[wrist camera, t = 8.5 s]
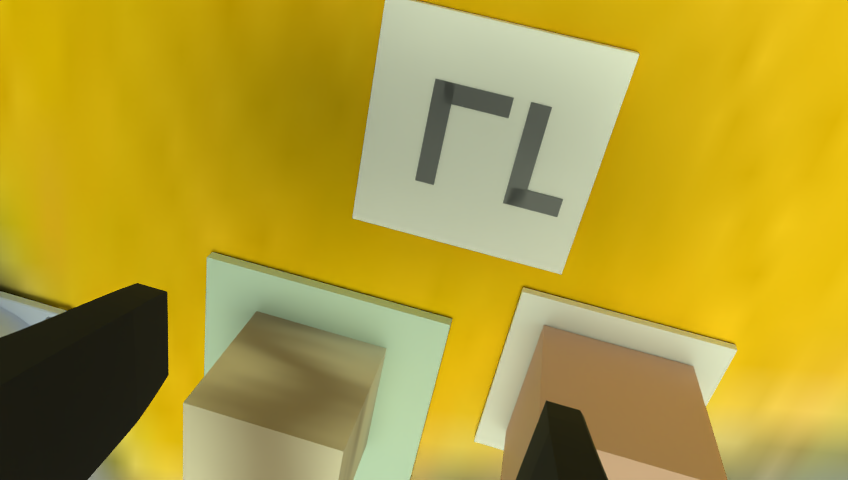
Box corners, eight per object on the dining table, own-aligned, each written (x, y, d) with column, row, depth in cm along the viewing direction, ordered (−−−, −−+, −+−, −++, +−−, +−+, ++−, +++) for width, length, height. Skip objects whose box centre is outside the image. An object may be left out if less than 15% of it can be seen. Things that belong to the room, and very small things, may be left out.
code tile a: (354, 214, 20) (351, 218, 20) (388, -7, 17) (385, -6, 17) (561, 269, 20) (561, 275, 20) (638, 52, 17) (639, 54, 16)
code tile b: (475, 435, 24) (473, 442, 24) (523, 286, 20) (522, 292, 20) (655, 488, 23) (656, 496, 23) (734, 344, 20) (737, 351, 20)
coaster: (207, 428, 27) (202, 435, 26) (212, 251, 22) (206, 257, 22) (407, 489, 26) (404, 497, 26) (452, 318, 22) (450, 325, 21)
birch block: (249, 409, 25) (182, 511, 21) (256, 310, 23) (183, 402, 18) (366, 445, 25) (324, 557, 20) (386, 348, 22) (343, 451, 18)
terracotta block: (505, 431, 23) (492, 549, 19) (543, 325, 21) (538, 432, 16) (639, 470, 23) (657, 601, 18) (693, 366, 20) (729, 488, 16)
